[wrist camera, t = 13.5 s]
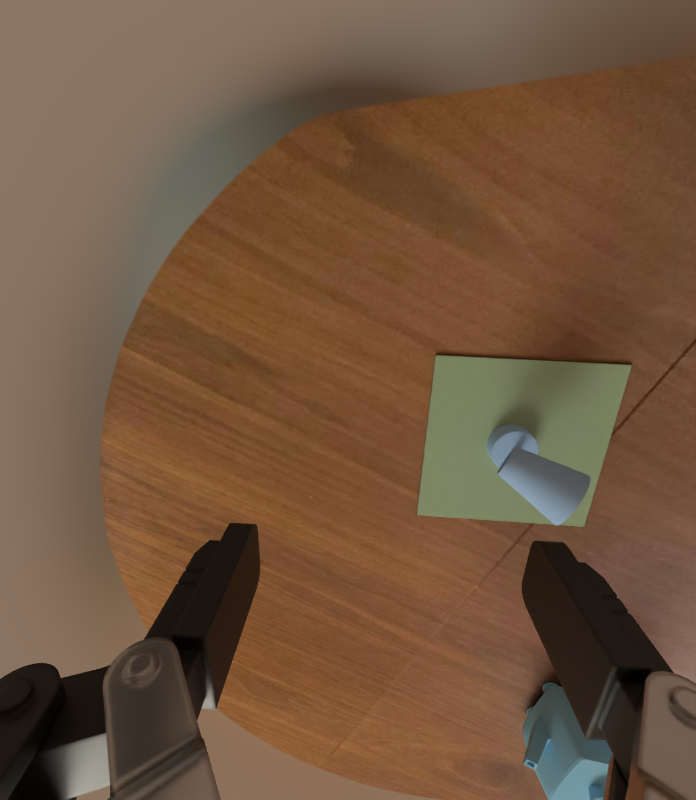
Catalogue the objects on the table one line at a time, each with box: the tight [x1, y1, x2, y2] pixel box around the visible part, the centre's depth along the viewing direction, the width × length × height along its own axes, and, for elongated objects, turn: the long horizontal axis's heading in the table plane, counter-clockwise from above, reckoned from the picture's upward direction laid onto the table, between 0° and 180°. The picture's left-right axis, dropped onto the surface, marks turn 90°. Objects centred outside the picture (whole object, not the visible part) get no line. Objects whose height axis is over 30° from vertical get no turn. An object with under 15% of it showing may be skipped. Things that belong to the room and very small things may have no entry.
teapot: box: [523, 682, 612, 800], centre depth 46 cm, size 18×14×10 cm
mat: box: [417, 355, 632, 527], centre depth 39 cm, size 18×18×1 cm
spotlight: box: [487, 424, 590, 525], centre depth 34 cm, size 5×10×7 cm
